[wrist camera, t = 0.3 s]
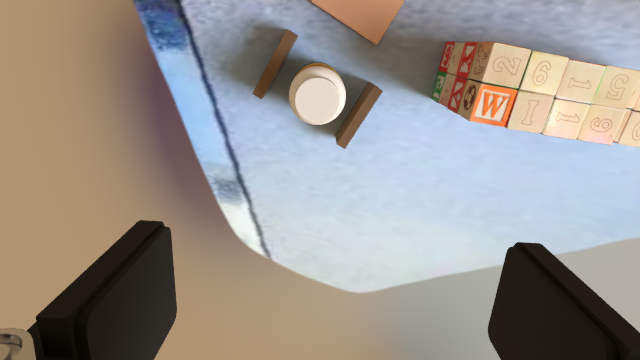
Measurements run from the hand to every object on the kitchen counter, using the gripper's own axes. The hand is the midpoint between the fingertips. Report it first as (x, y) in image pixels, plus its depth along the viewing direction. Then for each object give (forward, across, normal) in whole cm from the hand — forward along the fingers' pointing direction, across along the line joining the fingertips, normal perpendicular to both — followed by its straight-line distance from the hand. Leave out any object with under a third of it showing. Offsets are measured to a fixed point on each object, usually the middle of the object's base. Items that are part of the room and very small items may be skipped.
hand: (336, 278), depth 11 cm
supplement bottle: (+34, +1, -2) cm, 34 cm away
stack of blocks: (+34, -22, -3) cm, 41 cm away
